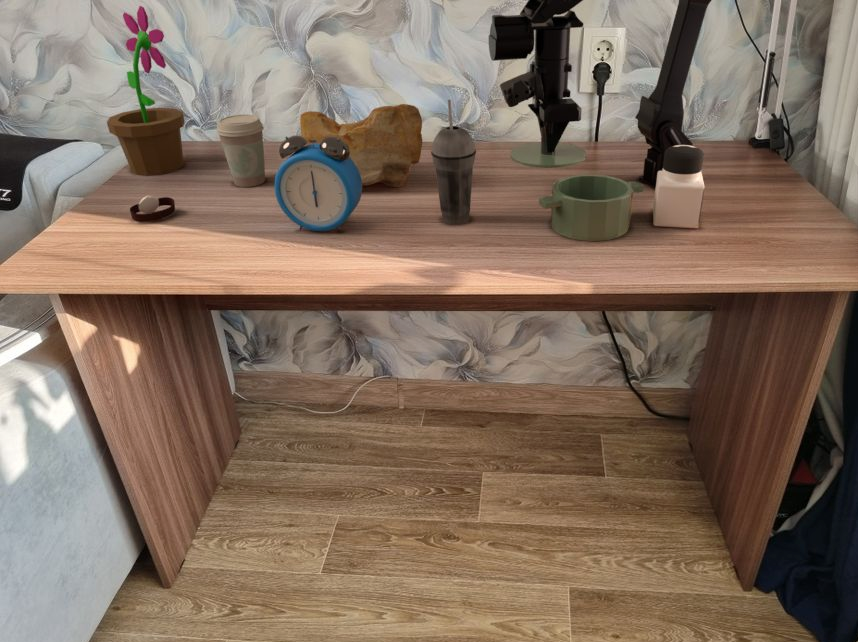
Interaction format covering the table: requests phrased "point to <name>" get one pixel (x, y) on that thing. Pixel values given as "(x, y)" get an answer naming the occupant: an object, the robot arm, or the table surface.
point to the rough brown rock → (374, 141)
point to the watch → (152, 209)
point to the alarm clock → (317, 183)
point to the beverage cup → (454, 171)
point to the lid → (547, 154)
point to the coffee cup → (243, 148)
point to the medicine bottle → (679, 188)
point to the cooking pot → (591, 206)
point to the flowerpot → (147, 112)
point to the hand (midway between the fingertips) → (548, 149)
